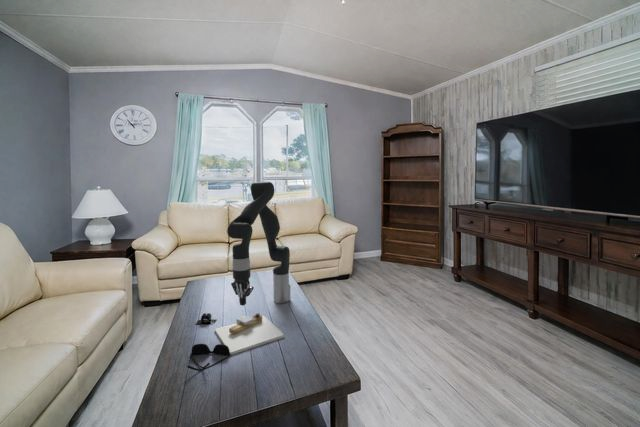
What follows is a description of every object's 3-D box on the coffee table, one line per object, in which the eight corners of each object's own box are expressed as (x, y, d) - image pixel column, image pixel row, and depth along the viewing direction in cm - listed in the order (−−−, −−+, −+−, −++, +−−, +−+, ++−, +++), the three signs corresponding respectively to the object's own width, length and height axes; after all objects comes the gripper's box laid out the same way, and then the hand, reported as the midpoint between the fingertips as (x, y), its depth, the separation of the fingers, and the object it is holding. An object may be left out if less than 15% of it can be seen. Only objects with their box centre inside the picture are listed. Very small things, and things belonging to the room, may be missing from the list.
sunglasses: (174, 376, 111) (174, 363, 111) (192, 353, 126) (191, 342, 125) (219, 377, 111) (218, 364, 110) (231, 354, 125) (231, 343, 125)
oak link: (258, 317, 154) (257, 311, 153) (264, 319, 151) (263, 313, 151) (228, 332, 139) (228, 325, 139) (234, 335, 136) (234, 328, 136)
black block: (220, 319, 156) (220, 311, 156) (216, 326, 149) (216, 317, 149) (196, 320, 156) (196, 311, 155) (191, 327, 149) (190, 318, 148)
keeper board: (263, 317, 157) (263, 307, 157) (284, 337, 138) (284, 325, 137) (214, 331, 143) (214, 320, 143) (230, 355, 124) (230, 342, 123)
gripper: (258, 267, 131) (259, 305, 133) (238, 262, 139) (239, 298, 141) (244, 272, 125) (246, 311, 127) (224, 266, 133) (226, 304, 135)
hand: (242, 304), depth 134 cm, fingers closed
